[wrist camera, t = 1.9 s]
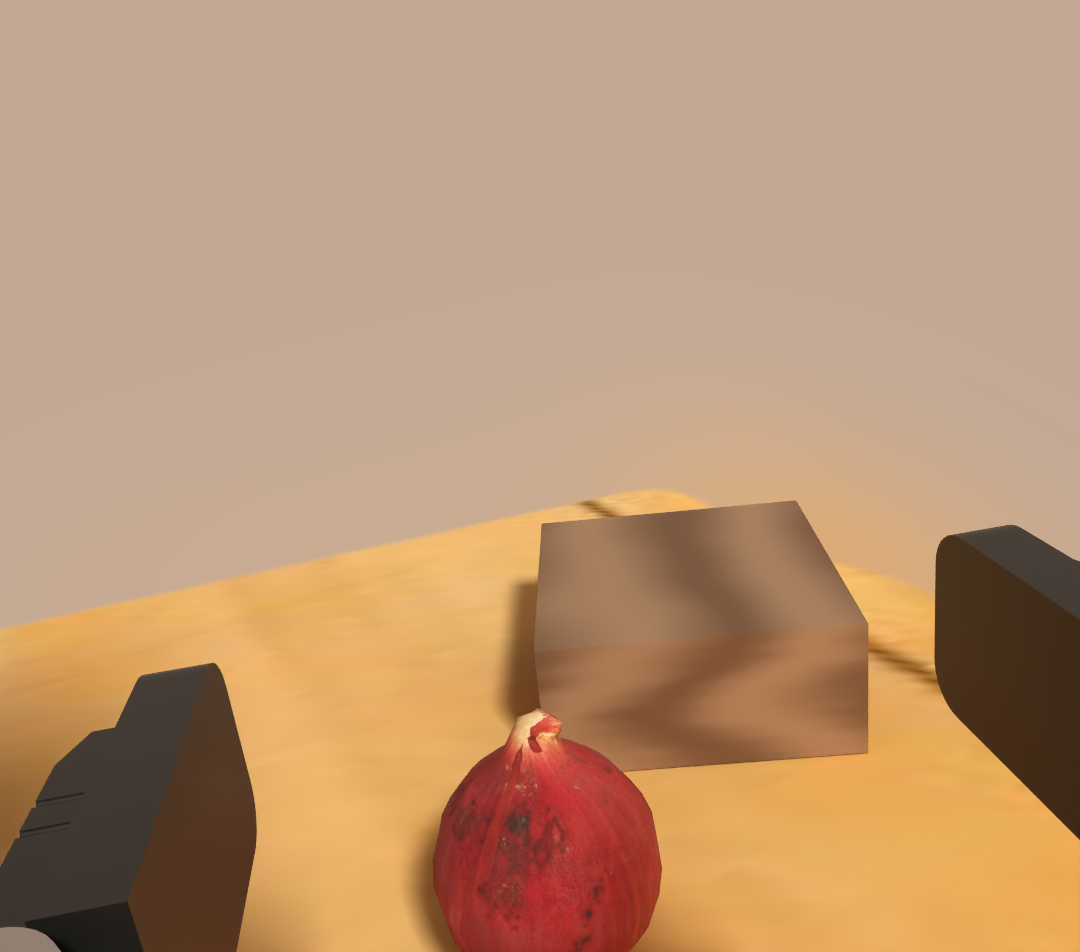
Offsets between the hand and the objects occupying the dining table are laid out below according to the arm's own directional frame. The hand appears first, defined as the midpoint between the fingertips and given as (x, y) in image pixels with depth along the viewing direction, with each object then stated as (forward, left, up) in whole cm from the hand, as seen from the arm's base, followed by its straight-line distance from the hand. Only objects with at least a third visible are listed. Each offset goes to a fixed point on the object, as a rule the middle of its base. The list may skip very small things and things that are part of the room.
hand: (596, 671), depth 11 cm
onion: (-2, +11, -16) cm, 20 cm away
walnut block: (+3, +25, -16) cm, 30 cm away
